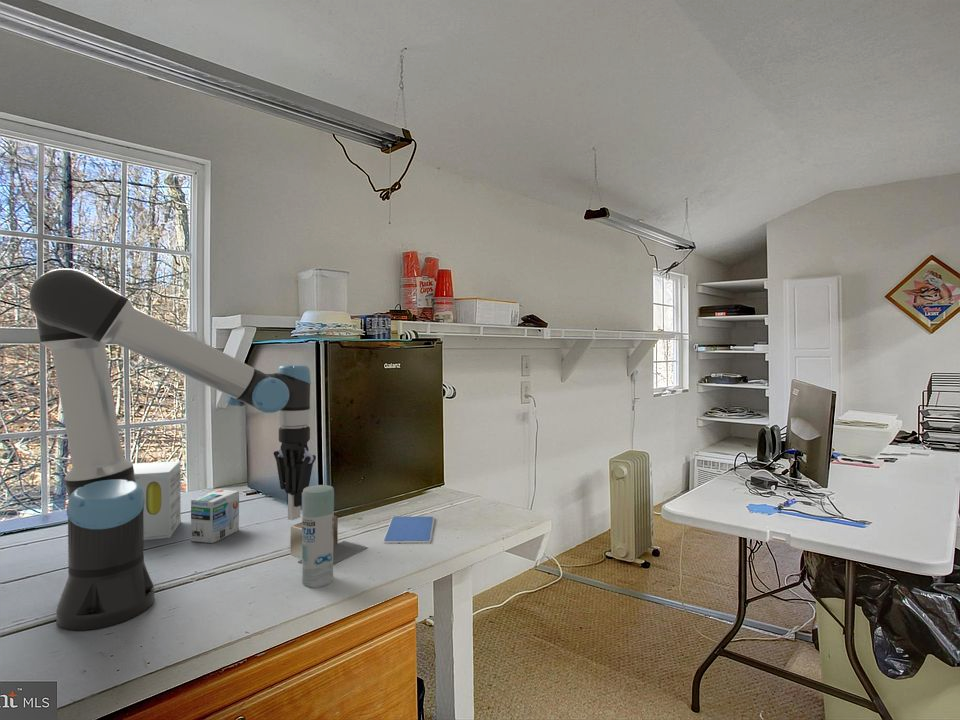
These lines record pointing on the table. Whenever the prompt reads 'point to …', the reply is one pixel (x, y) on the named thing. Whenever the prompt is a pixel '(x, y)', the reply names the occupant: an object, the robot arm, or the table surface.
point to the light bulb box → (214, 516)
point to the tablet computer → (409, 530)
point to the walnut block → (297, 538)
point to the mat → (344, 551)
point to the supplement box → (160, 497)
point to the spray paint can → (317, 535)
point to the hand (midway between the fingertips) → (294, 518)
